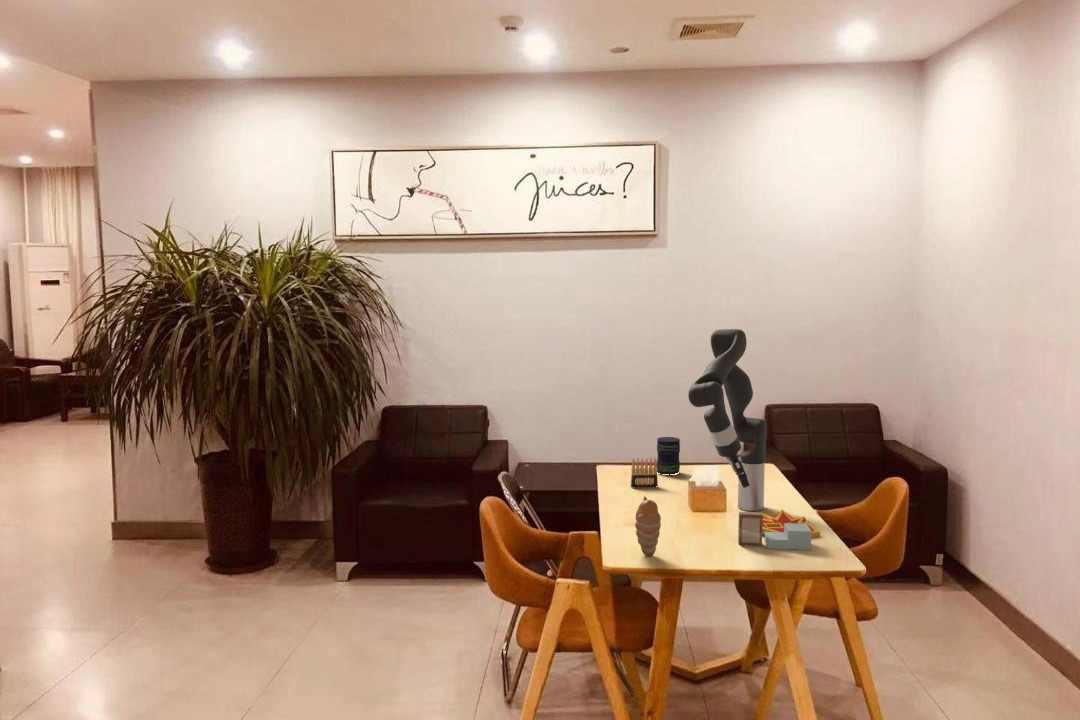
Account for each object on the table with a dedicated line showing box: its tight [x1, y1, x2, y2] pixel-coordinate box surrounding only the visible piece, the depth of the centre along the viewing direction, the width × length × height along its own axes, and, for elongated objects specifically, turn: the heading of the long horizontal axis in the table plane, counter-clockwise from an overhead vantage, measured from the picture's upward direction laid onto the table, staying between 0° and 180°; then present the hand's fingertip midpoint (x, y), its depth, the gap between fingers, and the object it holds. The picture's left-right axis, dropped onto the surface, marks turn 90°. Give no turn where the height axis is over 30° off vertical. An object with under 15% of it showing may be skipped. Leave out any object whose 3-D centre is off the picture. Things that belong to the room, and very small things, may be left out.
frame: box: [737, 511, 763, 547], centre depth 271 cm, size 3×7×10 cm, turn 83°
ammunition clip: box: [630, 457, 659, 488], centre depth 345 cm, size 11×2×12 cm, turn 93°
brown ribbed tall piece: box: [634, 495, 662, 557], centre depth 260 cm, size 9×8×18 cm
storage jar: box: [656, 436, 681, 475], centre depth 368 cm, size 10×10×15 cm
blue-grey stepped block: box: [764, 523, 812, 551], centre depth 270 cm, size 8×13×6 cm, turn 83°
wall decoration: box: [761, 509, 821, 538], centre depth 290 cm, size 22×31×4 cm
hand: (743, 480), depth 273 cm, fingers open, 8 cm apart
